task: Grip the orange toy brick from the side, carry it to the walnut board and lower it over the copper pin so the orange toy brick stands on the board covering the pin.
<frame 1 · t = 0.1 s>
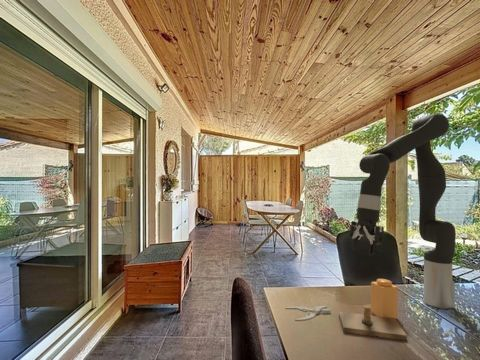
hand: (363, 252, 99), 22 cm above the table, tool pointing down, fingers open, 8 cm apart
board: (370, 327, 89), on the table
pliers: (309, 314, 99), on the table
orange toy brick: (383, 315, 98), on the table
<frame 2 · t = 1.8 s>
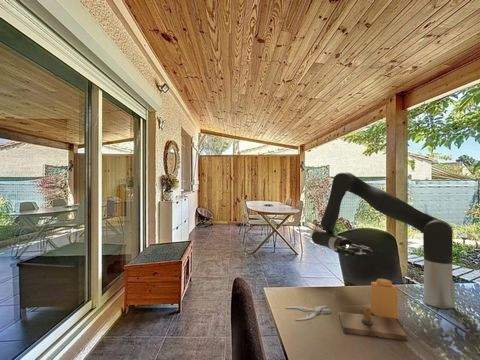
hand: (363, 254, 109), 19 cm above the table, tool horizontal, fingers open, 8 cm apart
nothing on the table moved.
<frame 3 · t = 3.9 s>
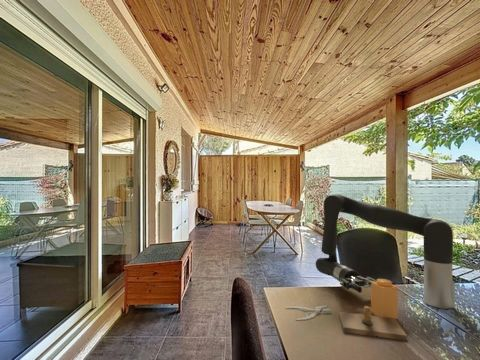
hand: (370, 289, 105), 7 cm above the table, tool horizontal, fingers open, 8 cm apart
nothing on the table moved.
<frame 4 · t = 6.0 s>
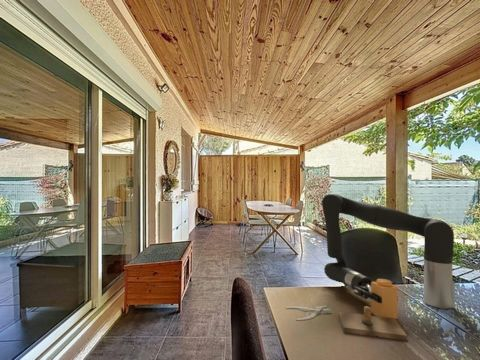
hand: (389, 299, 95), 7 cm above the table, tool horizontal, fingers closed on orange toy brick, 6 cm apart
orange toy brick: (383, 315, 98), on the table, touching gripper
everything else where it was.
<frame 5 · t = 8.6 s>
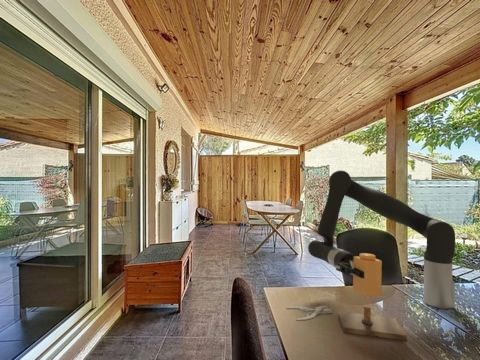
hand: (372, 274, 87), 18 cm above the table, tool horizontal, fingers closed on orange toy brick, 6 cm apart
orange toy brick: (366, 292, 89), point 11 cm above the table, touching gripper
everything else where it was.
when the fingers open (9 cm above the table, at t = 11.1 s): orange toy brick drops 1 cm, resting on board.
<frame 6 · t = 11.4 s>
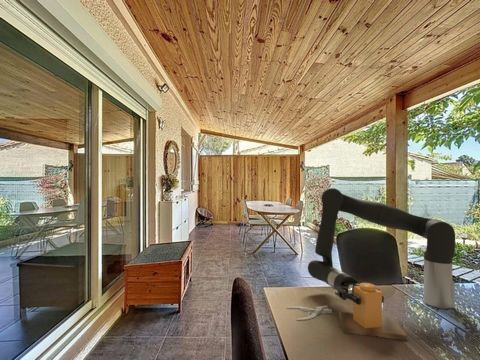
hand: (371, 300, 87), 10 cm above the table, tool horizontal, fingers open, 8 cm apart
orange toy brick: (367, 322, 89), point 1 cm above the table, touching board
everything else where it was.
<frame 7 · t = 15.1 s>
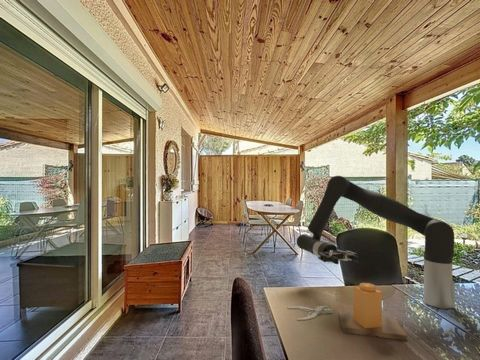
hand: (348, 260, 100), 19 cm above the table, tool horizontal, fingers open, 8 cm apart
nothing on the table moved.
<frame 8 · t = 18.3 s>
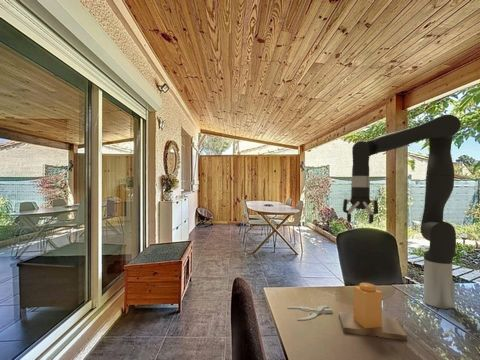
hand: (359, 222, 121), 30 cm above the table, tool pointing down, fingers open, 8 cm apart
nothing on the table moved.
at the end: orange toy brick 0.1 cm from the target spot on the board, point 1.5 cm above the board's base; orange toy brick tilted 0°; the gripper is holding nothing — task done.
